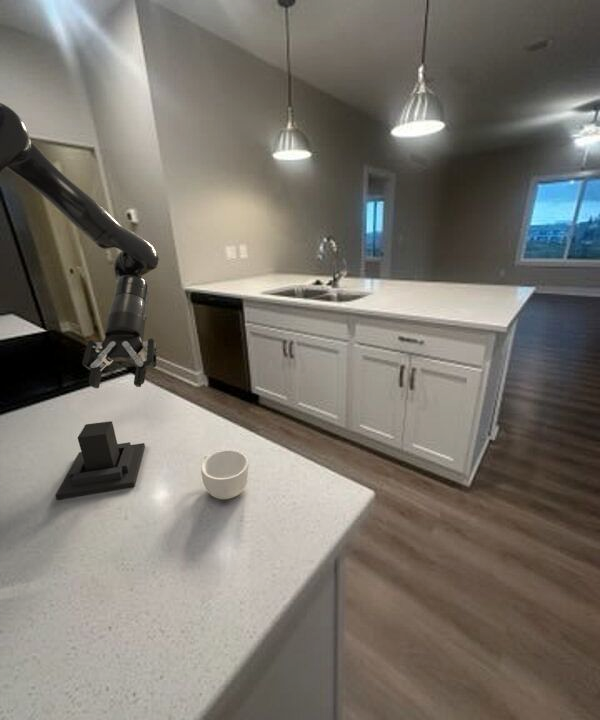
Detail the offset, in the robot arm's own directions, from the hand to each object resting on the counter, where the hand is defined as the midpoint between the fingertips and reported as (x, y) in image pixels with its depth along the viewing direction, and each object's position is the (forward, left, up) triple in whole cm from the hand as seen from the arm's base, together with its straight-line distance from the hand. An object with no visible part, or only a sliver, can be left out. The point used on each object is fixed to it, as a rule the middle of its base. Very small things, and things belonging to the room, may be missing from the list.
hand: (116, 386), depth 71 cm
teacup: (+20, -22, -12) cm, 32 cm away
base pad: (-1, -12, -11) cm, 17 cm away
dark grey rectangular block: (-1, -12, -10) cm, 16 cm away
